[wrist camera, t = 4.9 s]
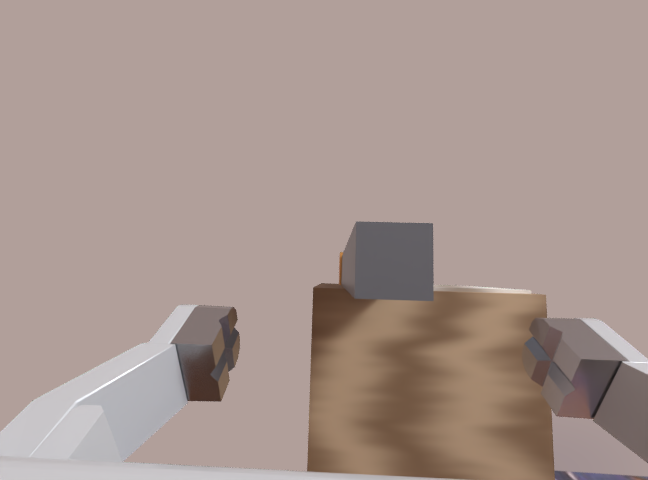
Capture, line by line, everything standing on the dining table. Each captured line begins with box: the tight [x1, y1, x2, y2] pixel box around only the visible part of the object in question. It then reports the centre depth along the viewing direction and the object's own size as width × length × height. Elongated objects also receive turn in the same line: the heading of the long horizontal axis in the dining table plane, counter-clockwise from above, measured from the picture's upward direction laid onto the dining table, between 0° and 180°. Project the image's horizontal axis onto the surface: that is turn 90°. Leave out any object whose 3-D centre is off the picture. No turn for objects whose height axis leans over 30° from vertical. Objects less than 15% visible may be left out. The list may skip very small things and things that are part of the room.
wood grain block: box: [307, 283, 555, 480], centre depth 23 cm, size 13×12×26 cm
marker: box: [339, 222, 434, 301], centre depth 20 cm, size 3×20×3 cm, turn 178°
